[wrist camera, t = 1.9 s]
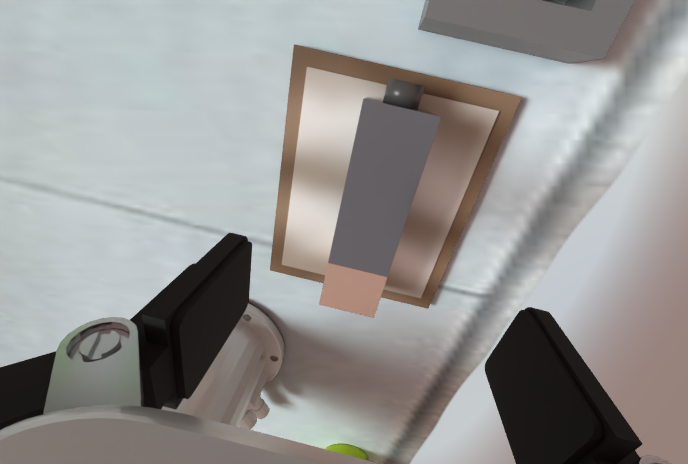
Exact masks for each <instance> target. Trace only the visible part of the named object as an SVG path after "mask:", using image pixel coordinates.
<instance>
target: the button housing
mask: <svg viewBox="0 0 688 464" xmlns="http://www.w3.org/2000/svg"><path fill="white" fill-rule="evenodd" d="M634 1H635V0H567V2H566V5H561V4H556V3H552V2H547V1H543V0H426V1H425V5H424V8H423V12H422V16H421V20H420V23H419V27H418V29H420V30H424V31H428V32H433V33H437V34H442V35H446V36H450V37H455V38H459V39H463V40H468V41H472V42H477V43H481V44H485V45H490V46H494V47H499V48H503V49H507V50H512V51H516V52H521V53H525V54H529V55H534V56H538V57H542V58H547V59H551V60H556V61H560V62H564V63H576V62H583V61H589V60H596V59H603V58H605V56H606V54H607V52H608V50H609V48H610V47H611V45H612V43H613V41H614V39H615V37H616V35H617V33H618V31H619V30H620V28H621V26H622V24H623V22H624V20H625V18H626V16H627V15H628V13H629V11H630V9H631V7H632V5H633V3H634Z"/></svg>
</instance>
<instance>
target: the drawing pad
mask: <svg viewBox="0 0 688 464" xmlns="http://www.w3.org/2000/svg"><path fill="white" fill-rule="evenodd" d="M388 78H391V79H397V80H402V81H406V82H411V83H415V84H418V85H422V86H425V87H424V90H423V94H422V97H421V100H420V104H419V107H418V109H420V110H424V111H428V112H431V113H434V114H436V115H438V116H440V117H441V119H440V122H439V125H438V128H437V131H436V134H435V137H434V140H433V143H432V146H431V149H430V152H429V155H428V158H427V161H426V164H425V167H424V170H423V173H422V176H421V179H420V182H419V185H418V188H417V191H416V194H415V197H414V200H413V203H412V206H411V209H410V212H409V215H408V218H407V221H406V223H405V226H404V229H403V232H402V235H401V238H400V241H399V244H398V247H397V250H396V253H395V256H394V259H393V262H392V265H391V268H390V271H389V274H388V277H387V280H386V283H385V286H384V289H383V292H382V295H381V297H382V298H387V299H391V300H395V301H399V302H403V303H407V304H411V305H415V306H419V307H424V308H429V305H430V303H431V301H432V299H433V296H434V294H435V292H436V290H437V287H438V285H439V283H440V281H441V278H442V276H443V274H444V272H445V269H446V267H447V265H448V263H449V260H450V258H451V256H452V254H453V251H454V249H455V247H456V244H457V242H458V240H459V238H460V235H461V233H462V231H463V229H464V226H465V224H466V222H467V220H468V217H469V215H470V213H471V211H472V208H473V206H474V204H475V202H476V199H477V197H478V195H479V193H480V190H481V188H482V186H483V184H484V181H485V179H486V177H487V174H488V172H489V170H490V168H491V165H492V163H493V161H494V159H495V156H496V154H497V152H498V150H499V147H500V145H501V143H502V141H503V138H504V136H505V134H506V132H507V129H508V127H509V125H510V123H511V120H512V118H513V116H514V113H515V111H516V109H517V107H518V104H519V102H520V100H521V98H522V97H520V96H516V95H511V94H507V93H503V92H498V91H494V90H489V89H485V88H481V87H476V86H472V85H468V84H463V83H459V82H455V81H450V80H446V79H442V78H437V77H433V76H429V75H424V74H420V73H416V72H411V71H407V70H403V69H398V68H394V67H390V66H385V65H381V64H377V63H372V62H368V61H364V60H359V59H355V58H351V57H346V56H342V55H337V54H333V53H329V52H324V51H320V50H316V49H311V48H307V47H303V46H298V45H294V50H293V59H292V68H291V78H290V87H289V96H288V106H287V115H286V125H285V134H284V143H283V153H282V162H281V171H280V181H279V190H278V200H277V209H276V218H275V228H274V237H273V246H272V256H271V265H270V270H271V271H275V272H280V273H284V274H288V275H292V276H296V277H300V278H304V279H308V280H312V281H317V282H321V283H324V279H325V274H326V270H327V265H328V261H329V256H330V251H331V247H332V242H333V237H334V233H335V228H336V223H337V219H338V214H339V209H340V205H341V200H342V195H343V191H344V186H345V181H346V177H347V172H348V167H349V163H350V158H351V154H352V149H353V144H354V140H355V135H356V130H357V126H358V121H359V116H360V112H361V107H362V102H363V99H364V98H367V97H368V98H372V99H377V100H381V101H383V99H384V95H385V91H386V86H387V82H388Z"/></svg>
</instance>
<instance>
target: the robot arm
mask: <svg viewBox="0 0 688 464" xmlns="http://www.w3.org/2000/svg"><path fill="white" fill-rule="evenodd" d="M251 254H252V243H251V242H249V241H248V239H247V237H246V236H242V235H238V234H234V233H229V234H227V235H226V236H225V237H224V238H223V239H222V240H221V241H220V242H219V243H218V244H216V245H215V246H214V247H213V248H212V249H211V250H210V251H209V252H208V253H207V254H206V255H205V256H204V257H202V258H201V259H200V260H199V261H198V262H197V263H196V264H192V265H190V266H189V267H188V268H186V269H185V270H184V271H183V272H182V273H181V274H180V275H179V276H178V277H177V278H176V279H174V280H173V281H172V282H171V283H170V284H169V285H168V286H167V287H166V288H165V289H163V290H162V291H161V292H160V293H159V294H158V295H157V296H156V297H155V298H154V299H152V300H151V301H150V302H149V303H148V304H147V305H146V306H145V307H144V308H143V309H142V310H140V311H139V312H138V313H137V314H136V315H135V316H134V317H133V318H132V319H131V320H128V319H125V318H118V317H110V318H102V319H98V320H95V321H91V322H89V323H86V324H84V325H82V326H80V327H78V328H77V329H75V330H74V331H72V332H71V333H69V334H68V335H67V336H66V337H65V338H64V339H63V340H62V341H61V343H60V344H59V347H58V349H57V351H56V352H52V353H49V354H46V355H42V356H39V357H35V358H32V359H28V360H25V361H21V362H18V363H14V364H11V365H7V366H4V367H0V464H378V463H374V462H371V461H367V460H363V459H359V458H356V457H352V456H348V455H344V454H341V453H337V452H333V451H329V450H325V449H321V448H318V447H314V446H310V445H306V444H302V443H298V442H295V441H291V440H287V439H283V438H279V437H275V436H272V435H268V434H264V433H260V432H256V431H253V430H250V429H251V428H252V427H253V426H254V425H255V423H256V422H257V417H258V418H259V419H263V418H265V417H266V416H267V415H268V413H269V407H268V405H267V404H266V403H265V401H264V400H263V399H261V397H260V395H261V391H262V389H263V386H264V384H265V383H267V382H269V381H270V380H271V379H273V378H274V377H275V376H276V374H277V373H278V371H279V370H280V367H281V365H282V362H283V359H284V352H285V350H284V342H283V340H282V337H281V334H280V332H279V331H278V329H277V328H276V326H275V324H274V323H273V322H272V321H271V320H270V319H269V318H268V317H267V316H266V315H265V314H264V313H263V312H261V311H260V310H259V309H258V308H256V307H254V306H253V305H251V304H249V303H248V302H249V288H250V271H251ZM485 372H486V375H487V379H488V382H489V385H490V388H491V390H492V394H493V396H494V399H495V402H496V405H497V408H498V411H499V414H500V417H501V420H502V423H503V426H504V429H505V432H506V435H507V438H508V441H509V444H510V447H511V450H512V453H513V456H514V459H515V462H516V464H671V463H669V462H668V461H666V460H663V459H661V458H659V457H656V456H651V455H646V456H643V457H641V458H640V457H639V456H638V454H637V453H636V451H635V450H636V449H637V448H638V447H639V446H641V445H642V442H641V441H640V440H639V438H638V437H637V436H636V434H635V433H634V431H633V430H632V428H631V427H630V426H629V424H628V423H627V421H626V420H625V419H624V417H623V416H622V414H621V413H620V412H619V410H618V409H617V407H616V406H615V405H614V403H613V401H612V400H611V399H610V397H609V396H608V394H607V393H606V392H605V391H604V389H603V388H602V386H601V385H600V383H599V382H598V380H597V379H596V377H595V376H594V375H593V373H592V372H591V370H590V369H589V368H588V366H587V365H586V363H585V362H584V360H583V359H582V358H581V356H580V355H579V353H578V352H577V351H576V349H575V348H574V346H573V345H572V344H571V342H570V341H569V339H568V338H567V336H566V335H565V334H564V332H563V331H562V330H561V328H560V327H559V325H558V324H557V322H556V321H555V319H554V318H553V317H552V315H551V314H550V313H549V312H547V311H543V310H539V309H535V308H531V307H528V308H526V309H525V310H521V311H520V312H519V313H518V314H517V316H516V317H515V319H514V320H513V322H512V323H511V325H510V326H509V328H508V329H507V331H506V332H505V334H504V335H503V337H502V338H501V340H500V341H499V343H498V345H497V346H496V347H495V349H494V350H493V352H492V354H491V355H490V356H489V358H488V360H487V361H486V364H485ZM238 426H239V427H238Z"/></svg>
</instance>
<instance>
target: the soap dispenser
mask: <svg viewBox="0 0 688 464" xmlns="http://www.w3.org/2000/svg"><path fill="white" fill-rule="evenodd" d="M325 450H329V451H333V452H337V453H341V454H344V455H348V456H352V457H356V458H359V459H363V460H367V461H368V457H367V455H366V454H365V453H364V452H363V451H362V450H360V449H359V448H356V447H354V446H351V445H346V444H335V445H331V446H329V447H327V448H326V449H325Z"/></svg>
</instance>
